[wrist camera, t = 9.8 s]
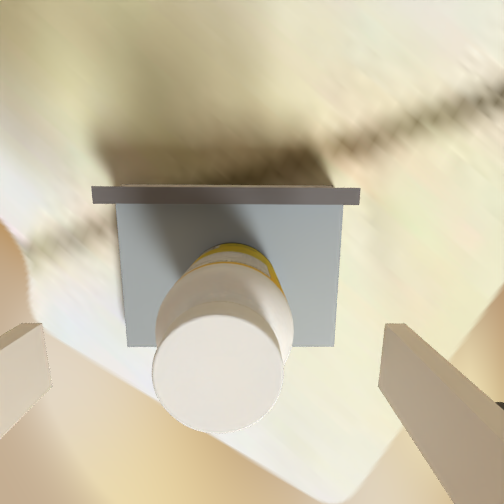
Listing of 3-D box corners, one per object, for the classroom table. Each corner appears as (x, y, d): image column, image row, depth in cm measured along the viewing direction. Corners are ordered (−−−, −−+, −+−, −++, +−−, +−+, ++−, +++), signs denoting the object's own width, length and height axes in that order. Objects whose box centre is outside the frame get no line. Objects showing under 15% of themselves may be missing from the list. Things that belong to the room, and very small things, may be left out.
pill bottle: (242, 340, 22) (238, 487, 11) (172, 292, 22) (88, 397, 10) (294, 273, 22) (348, 358, 10) (222, 221, 21) (193, 250, 9)
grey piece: (126, 186, 22) (91, 183, 17) (335, 187, 22) (360, 185, 17) (137, 334, 24) (109, 369, 20) (327, 334, 25) (346, 369, 20)
